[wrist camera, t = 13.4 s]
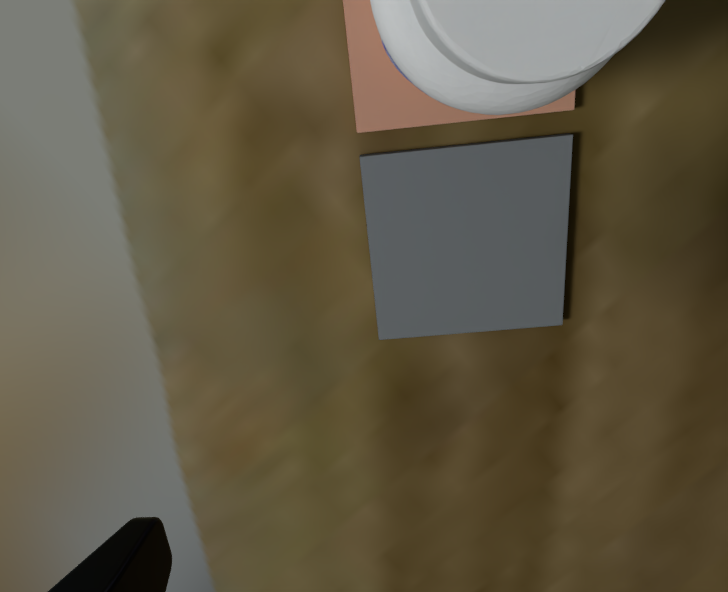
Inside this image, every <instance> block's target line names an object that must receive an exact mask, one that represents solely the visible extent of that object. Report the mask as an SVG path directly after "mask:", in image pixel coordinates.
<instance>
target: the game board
mask: <svg viewBox="0 0 728 592" xmlns="http://www.w3.org/2000/svg"><path fill="white" fill-rule="evenodd" d="M343 5H344V14H345V23H346V33H347V42H348V52H349V61H350V71H351V80H352V89H353V99H354V108H355V118H356V127H357V133H361V132H370V131H380V130H389V129H399V128H408V127H417V126H427V125H436V124H445V123H455V122H464V121H474V120H483V119H492V118H502V117H511V116H521V115H530V114H539V113H549V112H558V111H567V110H574V106H575V90H574V91H572V92H571V93H569V94H568V95H566V96H564V97H562V98H560V99H558V100H556V101H554V102H552V103H550V104H547V105H545V106H542V107H539V108H536V109H533V110H529V111H525V112H521V113H514V114H505V115H485V114H479V113H472V112H467V111H463V110H459V109H456V108H453V107H450V106H448V105H445V104H443V103H441V102H439V101H437V100H435V99H433V98H431V97H430V96H428V95H427V94H425V93H424V92H422V91H421V90H420V89H418V88H417V87H416V86H415V85H413V84H412V83H411V82H410V81H409V80H407V79H406V78H405V77H404V76H403V75H402V74H401V73H400V72H399V71H398V70H397V69H396V67H395V66H394V65H393V63H392V62H391V60H390V59H389V57H388V55H387V53H386V51H385V49H384V46H383V44H382V41H381V37H380V34H379V32H378V29H377V26H376V22H375V19H374V16H373V12H372V8H371V3H370V0H343ZM572 142H573V135H572V134H569V133H568V134H558V135H548V136H539V137H529V138H519V139H510V140H500V141H491V142H481V143H471V144H462V145H452V146H442V147H433V148H423V149H413V150H404V151H394V152H385V153H375V154H365V155H360V165H361V174H362V184H363V193H364V203H365V212H366V221H367V231H368V240H369V250H370V259H371V269H372V278H373V287H374V297H375V306H376V316H377V325H378V335H379V340H383V339H396V338H408V337H420V336H433V335H445V334H457V333H469V332H482V331H494V330H506V329H518V328H531V327H543V326H555V325H562V322H563V304H564V286H565V268H566V250H567V232H568V214H569V196H570V178H571V160H572Z"/></svg>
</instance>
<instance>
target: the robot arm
mask: <svg viewBox="0 0 728 592" xmlns="http://www.w3.org/2000/svg"><path fill="white" fill-rule="evenodd" d="M171 566H172V554H171V550H170V546H169V543H168V540H167V536H166V533H165V530H164V526H163V523H162V521H161V520H160V519H159V518H157V517H139V518H133V519H131V520H130V521H128V522H127V523H126V524H125V525H124V526H123V527H121V528H120V529H119V530H118V531H117V532H116V533H115V534H114V535H112V536H111V537H110V538H109V539H108V540H106V541H105V542H104V543H103V544H102V545H101V546H100V547H98V548H97V549H96V550H95V551H94V552H93V553H91V555H89V556H88V557H87V558H86V559H85V560H83V561H82V562H81V563H80V564H79V565H78V566H77V567H75V569H73V570H72V571H71V572H70V573H69V574H67V575H66V576H65V577H64V578H63V579H62V580H60V581H59V582H58V583H57V584H56V585H55V586H54V587H53V588H51V589H50V590H49V591H48V592H165V591H166V587H167V583H168V579H169V576H170V571H171Z"/></svg>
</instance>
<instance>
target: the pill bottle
mask: <svg viewBox="0 0 728 592" xmlns="http://www.w3.org/2000/svg"><path fill="white" fill-rule="evenodd" d="M664 2H665V0H370V3H371V8H372V12H373V16H374V19H375V22H376V26H377V29H378V32H379V34H380V37H381V41H382V44H383V46H384V49H385V51H386V53H387V55H388V57H389V59H390V60H391V62H392V63H393V65H394V66H395V67H396V69H397V70H398V71H399V72H400V73H401V74H402V75H403V76H404V77H405V78H406V79H407V80H409V81H410V82H411V83H412V84H413V85H415V86H416V87H417V88H418V89H420V90H421V91H422V92H424V93H425V94H427V95H428V96H430V97H431V98H433V99H435V100H437V101H439V102H441V103H443V104H445V105H448V106H450V107H453V108H456V109H459V110H463V111H467V112H472V113H479V114H485V115H505V114H514V113H521V112H525V111H529V110H533V109H536V108H539V107H542V106H545V105H547V104H550V103H552V102H554V101H556V100H558V99H560V98H562V97H564V96H566V95H568V94H569V93H571V92H572V91H574V90H576V89H577V88H579V87H580V86H581V85H583V84H584V83H586V82H587V81H588V80H589V79H590V78H591V77H592V76H594V75H595V74H596V73H597V72H598V71H599V70H600V69H601V68H602V67H603V66H604V65H605V64H606V63H607V62H608V61H609V60H610V59H611V58H612V56H613V55H614V54H616V53H617V52H618V51H620V50H621V49H622V48H624V47H625V46H626V45H627V44H628V43H629V42H630V41H631V40H632V39H634V38H635V37H636V36H637V35H638V34H639V33H640V32H641V31H642V30H643V29H644V27H645V26H646V25H647V24H648V23H649V21H650V20H651V19H652V18H653V17H654V16H655V14H656V13H657V12H658V10H659V9H660V7H661V6H662V4H663V3H664Z"/></svg>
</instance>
